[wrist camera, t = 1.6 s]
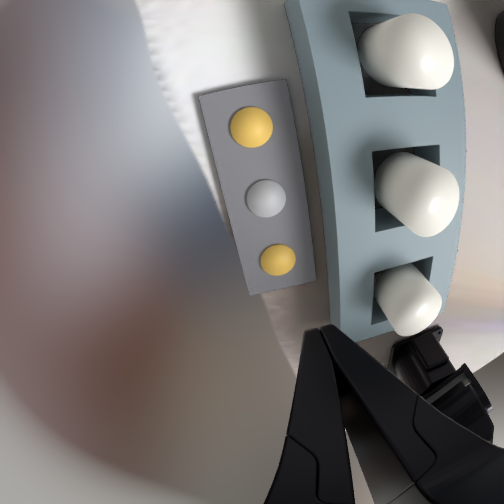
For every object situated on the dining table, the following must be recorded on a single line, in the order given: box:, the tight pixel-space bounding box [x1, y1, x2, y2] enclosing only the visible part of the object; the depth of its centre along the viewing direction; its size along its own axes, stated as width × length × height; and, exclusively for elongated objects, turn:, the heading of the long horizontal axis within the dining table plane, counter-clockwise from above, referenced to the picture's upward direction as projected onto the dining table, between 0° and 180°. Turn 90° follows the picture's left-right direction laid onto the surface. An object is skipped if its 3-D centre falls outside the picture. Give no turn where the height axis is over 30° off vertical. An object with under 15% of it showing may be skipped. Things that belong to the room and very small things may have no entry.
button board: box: [284, 0, 466, 342], centre depth 17 cm, size 24×10×3 cm, turn 12°
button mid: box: [374, 152, 459, 237], centre depth 15 cm, size 4×4×4 cm
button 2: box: [374, 263, 442, 336], centre depth 19 cm, size 4×4×4 cm
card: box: [199, 79, 316, 296], centre depth 18 cm, size 14×5×1 cm, turn 12°
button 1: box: [358, 13, 454, 90], centre depth 11 cm, size 4×4×4 cm
